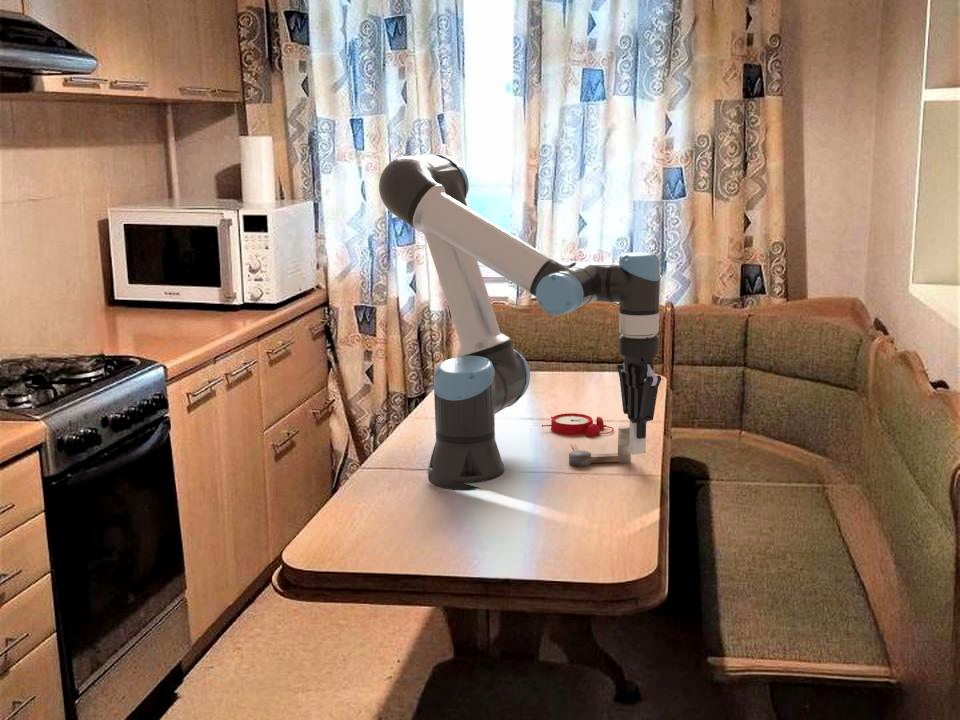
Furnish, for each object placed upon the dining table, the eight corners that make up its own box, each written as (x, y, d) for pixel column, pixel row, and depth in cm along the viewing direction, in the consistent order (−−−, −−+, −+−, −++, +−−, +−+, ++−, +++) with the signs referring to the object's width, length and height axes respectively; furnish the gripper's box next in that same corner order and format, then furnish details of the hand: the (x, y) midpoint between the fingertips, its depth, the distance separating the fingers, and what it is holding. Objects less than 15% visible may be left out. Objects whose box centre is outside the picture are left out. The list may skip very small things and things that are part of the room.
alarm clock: (551, 412, 235) (613, 402, 230) (557, 438, 236) (619, 429, 230) (537, 424, 226) (602, 415, 220) (544, 451, 227) (608, 442, 221)
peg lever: (570, 467, 203) (570, 433, 201) (562, 451, 213) (562, 418, 211) (633, 464, 204) (633, 430, 202) (622, 448, 214) (622, 416, 212)
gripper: (674, 338, 190) (671, 459, 195) (638, 326, 202) (637, 441, 207) (638, 342, 187) (637, 464, 193) (605, 330, 199) (604, 446, 205)
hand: (637, 452), depth 200 cm, fingers closed
